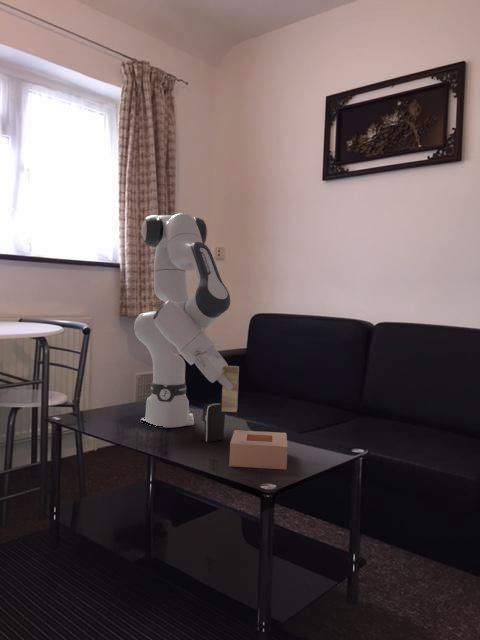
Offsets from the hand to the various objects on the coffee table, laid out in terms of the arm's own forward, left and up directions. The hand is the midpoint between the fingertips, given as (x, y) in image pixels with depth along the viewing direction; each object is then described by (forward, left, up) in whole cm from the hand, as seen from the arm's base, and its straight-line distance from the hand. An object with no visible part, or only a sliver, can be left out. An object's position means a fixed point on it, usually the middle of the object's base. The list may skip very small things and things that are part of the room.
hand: (232, 387), depth 147 cm
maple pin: (0, -1, -6) cm, 6 cm away
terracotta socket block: (0, +8, -20) cm, 21 cm away
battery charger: (-18, -7, -20) cm, 28 cm away
